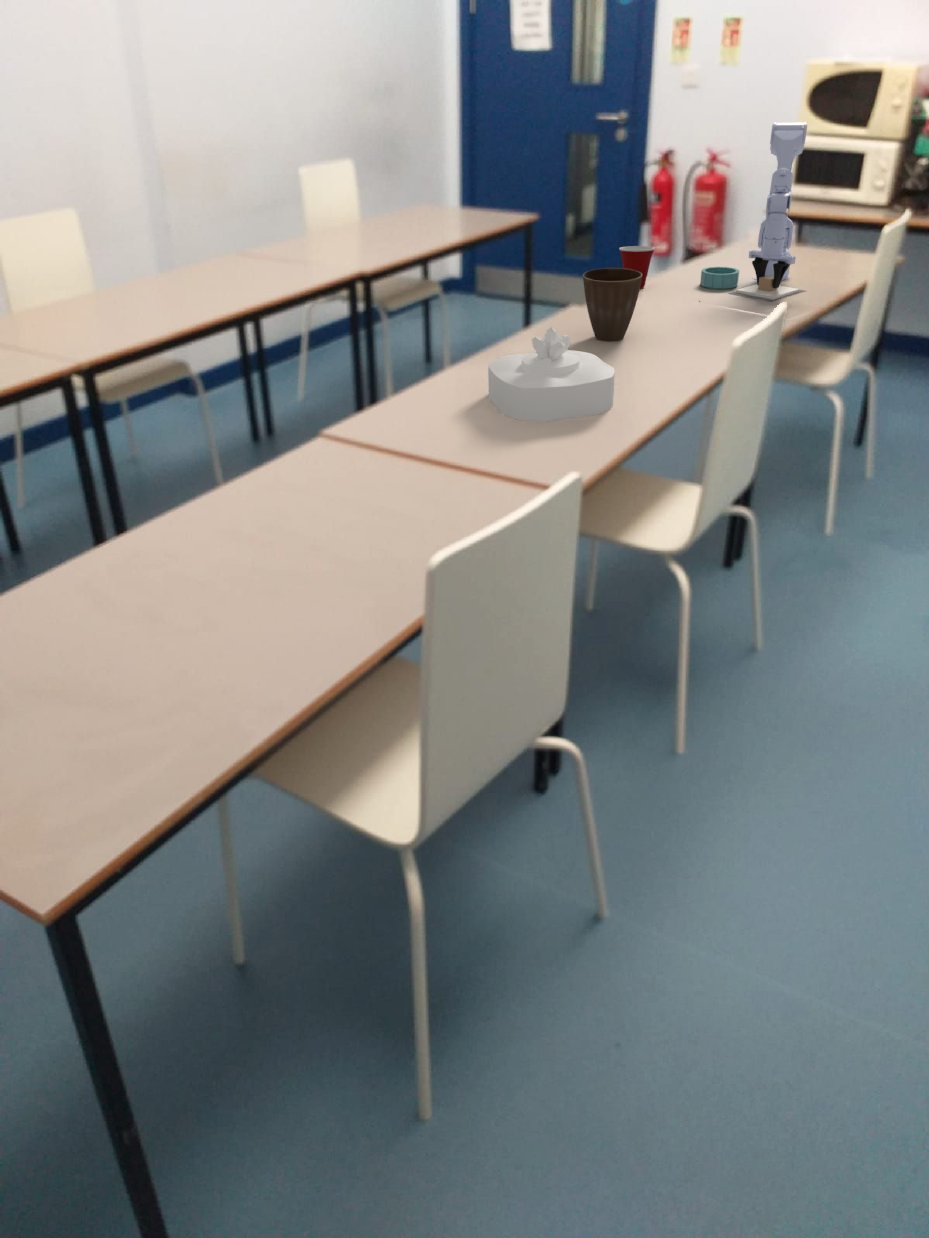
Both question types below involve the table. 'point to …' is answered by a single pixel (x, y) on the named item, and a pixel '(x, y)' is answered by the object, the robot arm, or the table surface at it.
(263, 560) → the table surface
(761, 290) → the lid
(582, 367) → the tissue box
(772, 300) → the mat
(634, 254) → the plastic cup
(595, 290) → the plant pot
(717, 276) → the bowl
